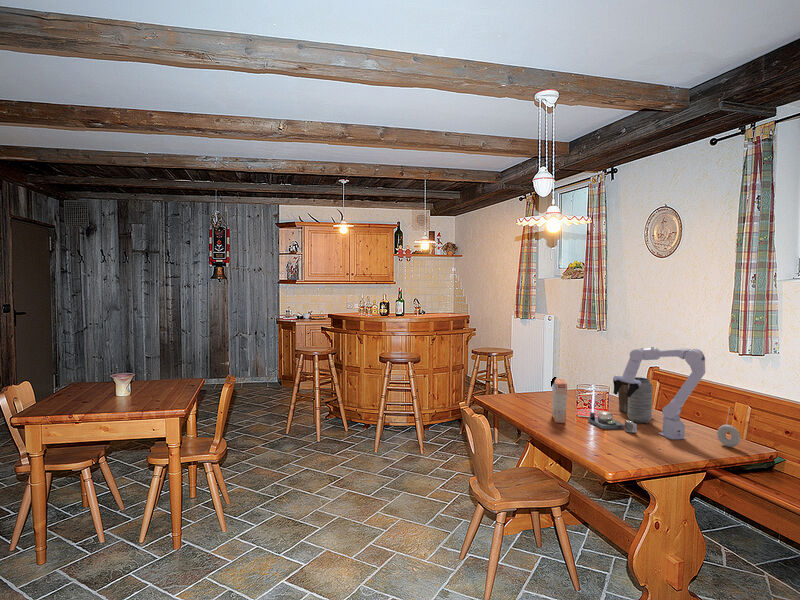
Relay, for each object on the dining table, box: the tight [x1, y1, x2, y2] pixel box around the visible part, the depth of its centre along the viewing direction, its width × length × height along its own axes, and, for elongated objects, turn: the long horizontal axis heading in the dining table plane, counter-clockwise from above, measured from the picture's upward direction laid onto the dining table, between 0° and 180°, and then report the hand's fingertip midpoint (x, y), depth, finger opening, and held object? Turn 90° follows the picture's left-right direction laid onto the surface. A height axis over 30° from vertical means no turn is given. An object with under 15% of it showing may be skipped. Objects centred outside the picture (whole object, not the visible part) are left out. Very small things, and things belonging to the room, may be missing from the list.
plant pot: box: [617, 382, 629, 414], centre depth 288 cm, size 16×16×16 cm
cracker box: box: [551, 378, 568, 424], centre depth 268 cm, size 14×6×21 cm, turn 168°
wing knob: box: [624, 419, 638, 434], centre depth 249 cm, size 7×5×5 cm
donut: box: [716, 424, 741, 448], centre depth 228 cm, size 10×4×10 cm, turn 23°
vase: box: [626, 376, 654, 424], centre depth 267 cm, size 12×12×23 cm
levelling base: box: [587, 411, 626, 430], centre depth 260 cm, size 14×12×6 cm
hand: (621, 395), depth 258 cm, fingers open, 7 cm apart
